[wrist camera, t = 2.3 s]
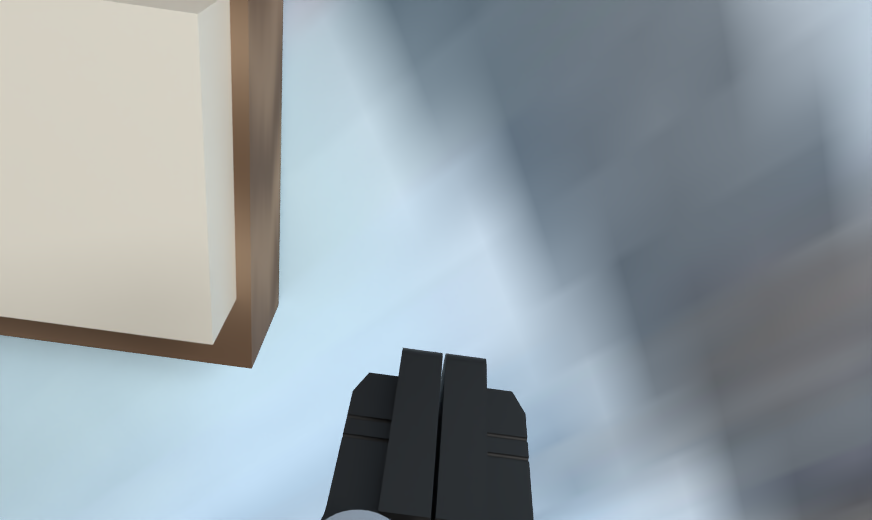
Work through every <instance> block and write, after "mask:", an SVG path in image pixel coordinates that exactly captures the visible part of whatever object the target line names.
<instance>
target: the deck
mask: <svg viewBox="0 0 872 520" xmlns="http://www.w3.org/2000/svg"><path fill="white" fill-rule="evenodd" d="M282 38H283V0H230V39H231V83H232V127H233V171H234V215H235V259H236V301H235V303H234V305H233V307H232V309H231V311H230V312H229V314H228V316H227V318H226V320H225V322H224V324H223V326H222V328H221V330H220V332H219V334H218V336H217V338H216V340H215V342H214V344H213V345H210V344H203V343H196V342H188V341H181V340H173V339H166V338H158V337H151V336H143V335H136V334H129V333H121V332H114V331H106V330H99V329H91V328H84V327H76V326H69V325H62V324H54V323H47V322H39V321H32V320H24V319H17V318H10V317H2V316H0V335H5V336H13V337H20V338H28V339H35V340H43V341H50V342H57V343H65V344H72V345H80V346H87V347H95V348H102V349H110V350H117V351H125V352H132V353H140V354H147V355H155V356H162V357H170V358H177V359H185V360H192V361H200V362H207V363H214V364H222V365H229V366H237V367H244V368H252V367H253V364H254V362H255V360H256V357H257V355H258V352H259V350H260V348H261V345H262V343H263V341H264V338H265V336H266V333H267V331H268V329H269V326H270V324H271V321H272V319H273V317H274V314H275V312H276V310H277V307H278V303H279V237H280V171H281V105H282Z"/></svg>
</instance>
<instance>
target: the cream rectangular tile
mask: <svg viewBox="0 0 872 520" xmlns="http://www.w3.org/2000/svg"><path fill="white" fill-rule="evenodd" d="M235 301H236V259H235V215H234V171H233V127H232V83H231V39H230V0H0V316H2V317H10V318H17V319H24V320H32V321H39V322H47V323H54V324H62V325H69V326H76V327H84V328H91V329H99V330H106V331H114V332H121V333H129V334H136V335H143V336H151V337H158V338H166V339H173V340H181V341H188V342H196V343H203V344H210V345H213V344H214V342H215V340H216V338H217V336H218V334H219V332H220V330H221V328H222V326H223V324H224V322H225V320H226V318H227V316H228V314H229V312H230V311H231V309H232V307H233V305H234V303H235Z"/></svg>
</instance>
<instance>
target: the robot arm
mask: <svg viewBox="0 0 872 520" xmlns="http://www.w3.org/2000/svg"><path fill="white" fill-rule="evenodd" d="M442 358H443V353H437V352H430V351H423V350H415V349H408V348H403V350H402V357H401V363H400V370H399V376H391V375H383V374H376V373H369V374H368V375H367V376H366V377H365V378H364V379H363V380H362V381H361V382H360V384H359V385H358V386H357V387H356V388H355V389H354V390H353V393H352V397H351V401H350V406H349V410H348V415H347V419H346V423H345V428H344V432H343V438H342V441H341V445H340V449H339V454H338V458H337V462H336V467H335V471H334V475H333V480H332V484H331V488H330V493H329V497H328V502H327V506H326V509H325V512H324V515H323V517H322V519H321V520H533V507H532V494H531V481H530V468H529V462H528V458H529V455H528V442H527V428H526V415H525V412H524V411H523V409H522V407H521V406H520V404H519V402H518V401H517V399H516V397H515V396H514V394H513V392H511V391H504V390H496V389H489V388H487V364H486V359H483V358H476V357H468V356H461V355H453V354H446V355H445V359H444V364H443V370H442ZM441 372H442V376H441Z"/></svg>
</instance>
